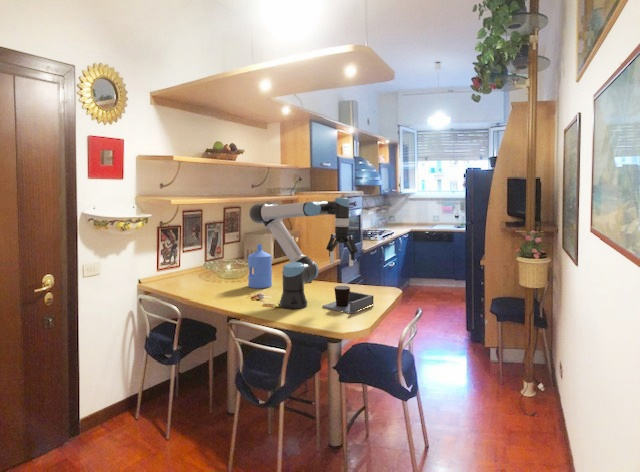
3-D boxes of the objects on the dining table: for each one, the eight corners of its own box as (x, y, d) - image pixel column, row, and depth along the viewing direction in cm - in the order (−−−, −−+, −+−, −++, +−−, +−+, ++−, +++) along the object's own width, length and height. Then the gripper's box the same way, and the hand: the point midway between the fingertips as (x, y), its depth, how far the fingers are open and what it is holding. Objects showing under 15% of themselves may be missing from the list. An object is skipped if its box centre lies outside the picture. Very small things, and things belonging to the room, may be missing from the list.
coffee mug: (346, 308, 228) (346, 289, 226) (331, 306, 232) (331, 288, 230) (354, 303, 238) (354, 285, 237) (340, 301, 242) (340, 284, 241)
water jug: (274, 283, 291) (273, 243, 288) (269, 289, 276) (268, 246, 273) (251, 283, 293) (251, 243, 290) (245, 288, 277) (244, 246, 274)
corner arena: (352, 314, 220) (352, 302, 219) (322, 307, 233) (322, 296, 232) (373, 306, 235) (373, 295, 235) (344, 300, 248) (344, 290, 247)
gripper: (364, 227, 228) (363, 266, 230) (328, 224, 244) (328, 260, 246) (356, 227, 222) (355, 268, 224) (320, 224, 238) (320, 262, 241)
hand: (341, 264), depth 235 cm, fingers open, 13 cm apart
